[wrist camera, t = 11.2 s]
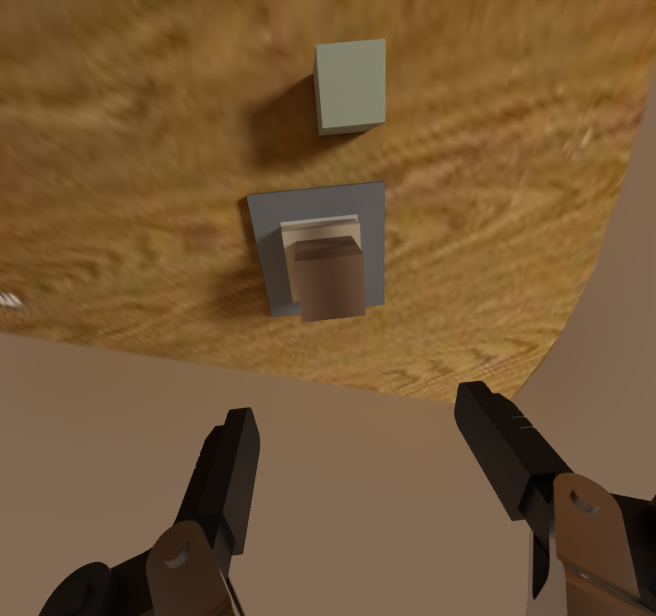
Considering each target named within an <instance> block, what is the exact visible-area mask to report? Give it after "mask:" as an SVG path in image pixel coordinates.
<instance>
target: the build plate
mask: <svg viewBox="0 0 656 616" xmlns="http://www.w3.org/2000/svg"><path fill="white" fill-rule="evenodd" d="M247 200H248V205H249V210H250V215H251V220H252V225H253V229H254V234H255V239H256V244H257V249H258V254H259V258H260V263H261V268H262V273H263V278H264V283H265V287H266V292H267V297H268V302H269V307H270V312H271V317H277V316H286V315H295V314H302V313H301V306H300V302H294V303H293V300H292V294H291V288H290V281H289V275H288V269H287V263H286V257H285V251H284V244H283V238H282V229H283V226H284V225H292V224H302V223H311V222H321V221H331V220H340V219H350V218H355V219H356V220H357V221H358V222H359V223H360V239H361V251H362V252H363V254H364V284H365V307H367V306H376V305H384V217H385V182H384V181H378V182H368V183H358V184H349V185H339V186H329V187H319V188H309V189H299V190H289V191H279V192H269V193H259V194H249V195H247Z"/></svg>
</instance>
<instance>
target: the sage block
mask: <svg viewBox="0 0 656 616" xmlns="http://www.w3.org/2000/svg"><path fill="white" fill-rule="evenodd" d="M385 60H386V39H375V40H364V41H353V42H342V43H331V44H320V45H316V48H315V59H314V70H313V76H314V87H315V98H316V109H317V120H318V132H319V136H324V135H334V134H344V133H354V132H364V131H369V130H371V129H373V128H375V127H377V126H379V125H381V124H383V123H384V122H385Z"/></svg>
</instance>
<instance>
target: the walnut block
mask: <svg viewBox="0 0 656 616" xmlns="http://www.w3.org/2000/svg"><path fill="white" fill-rule="evenodd" d="M294 266H295V273H296V279H297V286H298V293H299V300H300V306H301V313H302V320H303V322H310V321H319V320H328V319H337V318H346V317H355V316H364V315H365V284H364V254H363V252H362V251H361V249H360V248H359V246H358V245H357V243H356V242H355V240H354V239H353V237H352V236H342V237H332V238H323V239H313V240H303V241H296V248H295V256H294Z"/></svg>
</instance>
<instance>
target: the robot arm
mask: <svg viewBox="0 0 656 616" xmlns="http://www.w3.org/2000/svg"><path fill="white" fill-rule="evenodd" d="M454 416H455V420H456V423H457V426H458V428H459V430H460V432H461V433H462V435H463V437H464V438H465V440H466V442H467V444H468V445H469V447H470V449H471V451H472V452H473V454H474V456H475V458H476V459H477V461H478V463H479V465H480V466H481V468H482V469H483V471H484V473H485V475H486V477H487V478H488V480H489V482H490V484H491V485H492V487H493V489H494V491H495V492H496V494H497V495H498V498H499V499H500V501H501V503H502V504H503V506H504V508H505V510H506V511H507V513H508V515H509V517H510V518H511V520H512V521H516V520H524V519H525V520H526V521H527V523H528V525H529V526H530V528H531V531H530V538H529V540H530V541H529V572H528V573H529V574H528V602H527V610H526V614H525V616H656V495H655V497H654V498H653V499H652V500H651V501H647V500H642V499H637V498H632V497H627V496H621V495H616V494H612V493H609V492H608V491H606V490H605V489H604V488H603V487H602V486H600V485H599V484H597V483H596V482H594V481H592V480H590V479H589V478H587V477H584V476H582V475H579V474H575V473H574V472H573V471H572V470H571V469H570V468H569V467H568V466H567V464H566V463H565V462H564V461H563V460H562V459H561V458H560V456H559V455H558V454H557V453H556V452H555V451H554V449H553V448H552V447H551V446H550V445H549V444H548V442H547V441H546V440H545V439H544V438H543V437H542V436H541V434H540V433H539V432H538V431H537V430H536V429H535V428H533V425H532V424H531V423H530V422H529V420H528V419H527V418H525V417H524V415H523V414H522V412H521V411H520V410H519V409H518V408H517V407H516V405H515V404H514V403H512V402H511V401H510V400H508V399H507V398H505V397H504V396H502V395H501V394H499V393H495V394H493V393H492V392H491V391H490V389H489V388H488V387H487V386H486V384H485V383H484V382H482V381H473V382H464V383H460V384H459V386H458V391H457V397H456V403H455V409H454ZM259 452H260V436H259V432H258V428H257V425H256V422H255V418H254V415H253V412H252V409H251V408H250V407H248V408H239V409H231V410H229V412H228V414H227V417H226V420H225V424H224V425H221V426H215V428H214V429H213V430H212V431H211V433H210V434H209V435H208V437H207V438H206V439H205V441H204V445H203V448H202V450H201V452H200V456H199V458H198V461H197V463H196V468H195V469H194V472H193V475H192V477H191V480H190V482H189V485H188V488H187V491H186V493H185V496H184V499H183V501H182V504H181V507H180V510H179V512H178V515H177V518H176V520H175V522H174V524H173V525H172V527H170V528H169V529H168V530H166V531H165V532H164V533H163V534H162V535H161V536H160V537H159V539H158V540H157V541H156V543H155V544H154V546H153V547H152V548H150V549H149V550H147V551H145V552H144V553H142V554H140V555H138V556H136V557H134V558H131V559H129V560H127V561H125V562H123V563H122V564H119V565H117V566H115V567H113V568H111V569H110V568H108V566H107V565H106V564H104V563H102V562H93V563H89V564H87V565H85V566H82V567H81V568H79V569H77V570H76V571H74V572H73V573H72V574H70V575H69V576H68V577H67V578H66V579H65V580H64V581H63V582H62V583H61V584H60V585H59V586H58V587H57V588H56V589H55V590H54V592H53V593H52V594H51V596H50V597H49V599H48V600H47V602H46V603H45V605H44V607H43V609H42V610H41V612H40V614H39V616H246V614H245V612H244V610H243V608H242V605H241V603H240V600H239V598H238V596H237V593H236V591H235V589H234V586H233V584H232V582H231V579H230V577H229V575H228V573H229V567H230V562H231V557H232V555H240V554H243V550H244V544H245V538H246V532H247V526H248V519H249V514H250V507H251V501H252V495H253V489H254V482H255V476H256V470H257V464H258V458H259ZM643 602H644V603H643Z"/></svg>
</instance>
